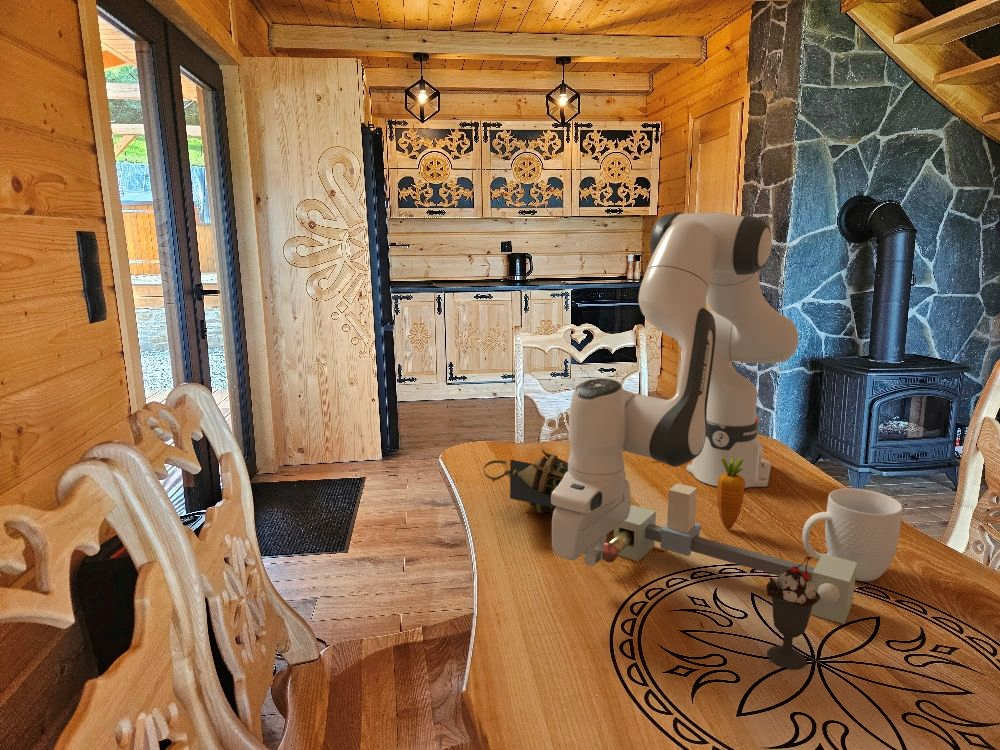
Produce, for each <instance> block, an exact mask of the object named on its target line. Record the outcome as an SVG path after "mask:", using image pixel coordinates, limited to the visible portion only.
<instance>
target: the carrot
mask: <svg viewBox="0 0 1000 750" xmlns="http://www.w3.org/2000/svg"><path fill="white" fill-rule="evenodd" d="M721 461H722V462H723V464H724V467H725V469H726V471H727V473H724V474H722V475H721V476H720V477H719V478H718V486H716V487H717V491H716V492H717V493H716V497H717V498H716V499H717V508H718V513H719V517H720V520H721V522H722V524H723V526H724V528H725V530H727V531H729V530H731V529H732V528H733V527H734V525H735V524H736V521H737V520H738V517H739V516H740V513H741V509H742V505H743V502H744V495H745V489H746V488H745V480H744V479H743V478H742V477H741V476H740V475H738V474H737V473H738V472H740V471H741V470H742V468H739V467H740V465H741V464H742V462H743V460H742V459H741V458H738V460H737V461H736V463H735V465H734V458H732V459H731V462H730V464H729V466H728V465H727V462H726V460H725V459H724V458H723V457H722V458H721Z"/></svg>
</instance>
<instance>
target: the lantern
mask: <svg viewBox="0 0 1000 750" xmlns="http://www.w3.org/2000/svg"><path fill="white" fill-rule="evenodd" d="M540 450H541V452H542V453H543V456H542V457H541V458H539V459H538V460H536V461H535V462H533V463H531V462H525V461H521V460H520V461H519V460H515V459H509V461H510V462H509V463H510V464H509V465H510V467H508V462H507V460H501V459H499V460H498V459H497V460H496V459H495V460H490V461H488V462H487V463H486V464H485V465H484V467H483V469H482V472H483V475H484V476H485V477H486V478H488V479H489V480H491V481H492V483H494V482H495V481H498V480H500V479H501V478H504V477H505V476H507V477H508V478H509V479H510V480H509V500H515V501H520V502H525V503H529V505H530V507H531V508H527V509H526V511H525V513H527V512H530V511H536V513H539V514H545V512H547V513H553V512H554V510H555V508H556V506H555V505H552V503H551V495H552V492H553V491H554V490H555V488H556V487H557V486H558V485H559V483H560V482H561V480H562V479H563V477H564V475H565V473H566V472H568V461H565V460H563V459H560V458H558V455H556V454H553V453H548V452H546V451H545V450H544V449H543V447H541V448H540ZM493 464H503V465H505V467H506V470H504V473H503V474H501V475H498V476H497V477H494V476H491V475H489V474H487V473H486V471H485V470H486V468H487V467H488V466H489V465H493ZM509 468H510V469H509Z"/></svg>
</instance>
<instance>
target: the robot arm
mask: <svg viewBox="0 0 1000 750" xmlns="http://www.w3.org/2000/svg"><path fill="white" fill-rule="evenodd" d="M772 241H773V240H772V231H771V228H770V226H769V224H768V223H767V222H766V220H764V219H762V218H759V217H756V216H753V215H746V216H742V215H738V214H732V213H723V212H692V213H691V212H689V213H688V212H687V213H682V212H680V211H679V212H670V213H666V214H663V215H662V216H661V217H659V219H658V220H657V221H656V222H655V223H654V225H653V227H652V229H651V231H650V237H649V251H650V254H651V257H650V260H649V263H648V265H647V267H646V270H645V273H644V275H643V279H642V281H641V284H640V287H639V291H638V305H639V309H640V312H641V314H642V315H643V316H644V317H645V319H646V320H647V321H648V322H649V323H650V324H651V325H652V326H653V327H654V328H655V329H657V330H658V331H660V332H662V334H665V335H666V336H668V337H669V338H671V339H674V341H676V342H677V343H678V345H679V348H680V349H681V350H682V351H681V352H682V353H681V360H680V364H679V365H680V366H679V370H678V371H679V373H678V378H677V386H676V391H675V394H674V395H673V396H672V397H671V398H670V399H665V398H660V397H653V396H648V395H643V394H641V393H635V392H633V391H628V390H626V389H624V388H623V386H622V384H621V383H620V382H619V381H617V380H615V379H611V378H602V377H601V378H600V377H599V378H593V379H587V380H585V381H583V382H581V383H579V384H578V385H577V386H576V387H575V389H574V390H573V393H572V397H571V402H570V406H569V407H570V408H569V414H568V419H569V420H568V438H567V439H568V442H569V444H570V453H569V456H568V460H567V463H568V472H566V473H565V475H564V477H563V479H562V480H561V482H560V483H559V485H558V486H557V487H556V488H555V490H554V491H553V492H552V495H551V503H552V505H555V506H556V508H555V510H554V512H552V518H551V547H552V550H553V552H554V554H555V555H556V556H557V557H559V558H561V559H562V558H563V559H566V560H568V561H572V562H573V561H576V560H577V559H578V558H580V557H581V556H582V555H583V554H584V555H583V556H584V557H583V558H584V559H583V560H584V564H585V565H587V566H590V567H594V566H595V565H596V564H597V563H598V562H600V560H603V559H602V552H603V548H604V545H605V543H607V539H608V536H607V535H608V534H609V533H610V532H613V531H614V528H616V527H617V526H618V525H619V524H621V523H622V522H623V521H624V520H626V519H627V518H628V516H629V513H630V505H631V490H630V489H631V488H630V482H629V481H628V479H626V476H627V475H626V471H625V459H624V457H623V452H628V453H630V454H635V455H639V456H643V457H646V458H650V459H652V460H655V461H657V462H660V463H662V464H665V465H668V466H671V467H674V468H678V467H681V466H683V465H686V464H687V463H688V464H687V465H686V468H685V469H686V471H687V472H689V473H691V474H692V475H693V476H694V477H695V478H696V479H697V480H698V481H699V482H701V483H704V484H707V485H710V486H714V487H717V486H718V478H719V477H720V476H721V475H722V474H724V473H727V471H726V469H725V467H724V464H723V462H722V461H721V458H722V457H723V458H724V459H725V460H726V462H727V465H728V466H729V464H730V462H731V459H732V458H734V465H735V463H736V461H737V460H738V458H741V459H742V460H743V462H742V464H741V465H740V467H739V468H742V470H741V471H740V472H738V473H737V474H738V475H740V476H741V477H742V478H743V479H744V480H745V489H747V488H752V487H755V488H756V487H757V488H760V487H768V485H769V481H770V475H771V469H772V463H771V462H770V461H768V460H766V459H763V447H764V446H763V443H761V442H760V439H759V438H758V429H759V428H758V424H759V417H758V416H756V415H757V405H758V404H757V402H758V391H757V388H756V386H755V384H754V383H753V382H752V381H751V380H749V378H747V377H745V376H743V375H741V374H739V373H738V372H737V371H736V369H735V367H734V366H733V362H740V363H751V364H758V365H759V364H762V365H764V364H765V365H766V364H775V363H776V364H777V363H778V364H779V363H786V362H787V361H788V360H790V358H791V357H792V356H793V355H794V354H795V353H796V350H797V348H798V345H799V339H800V338H799V331H798V329H797V326H796V325H795V323H794V322H793V320H791V319H790V318H789V317H787V316H784V315H783V314H781V313H780V312H778V311H777V310H775V309H774V308H773V307H772V306H771V305H770V304H769V303H768V301H767V300H766V298H765V297H764V295H763V293H762V289H761V282H760V278H759V277H760V275H759V271H760V270H761V269H763V268H764V267H765V265H766V263H767V261H768V258H769V257H770V253H771V252H772V251H771V250H772V245H773V242H772ZM707 306H708V307H709V308H710V310H708V309H707ZM691 461H692V462H691ZM690 462H691V463H690Z"/></svg>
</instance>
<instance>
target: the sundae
mask: <svg viewBox="0 0 1000 750" xmlns="http://www.w3.org/2000/svg"><path fill="white" fill-rule="evenodd" d="M811 559H812V556H809V555H808V556H807V555H806V556H805V559H804V561H803V562H802V563H800V564H801V565H804V563H805V562H806V564H805V565H806V569H805V570H806V572H802V573H800V569H799V567H800V566H801V565H799V566H798V567H796V566H793V567H791V569H790V570H787V571H784V572H783V573H782V574H780V575H779V576H778V575H777V579H776V578H775V579H774V578H772V577H770V576H769V578H768V580H769V582H767V583H766V586H765V587H766V593H767V596H768V597H771V604H772V606H771V607H772V618H773V624H774V625H773V626H774V627H775V628H776V629H777V631H778V632H779V633H780V635H781V634H782V636H783V642H782V645H774V646H771V647H769V649H768V650H767V653H766V654H767V658H769V660H770V661H771V662H772V663H773V664H775V665H776V666H778V667H780V668H785V669H789V670H799V669H802V668H803V667H805V666H806V665H807V659H806V657H805V656H804V654H803V653H802V652H800V651H799V650H797V649H795V648H793V641H794V638H797V637H800V636H802V635H803V634H804V633H805V631H806V629H807V627H808V624H809V621H810V617H811V610H812V607H813V605H814V604H816V603H817V602H818V601H819V599H820V595H819V594H818V593H817V592H816V591H815V588H814V586H813V584H812V583H811V582H810V581H809V579H810V574H809V573H808V572H807V566H808V564H809V563H808V562H809V560H811Z"/></svg>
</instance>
